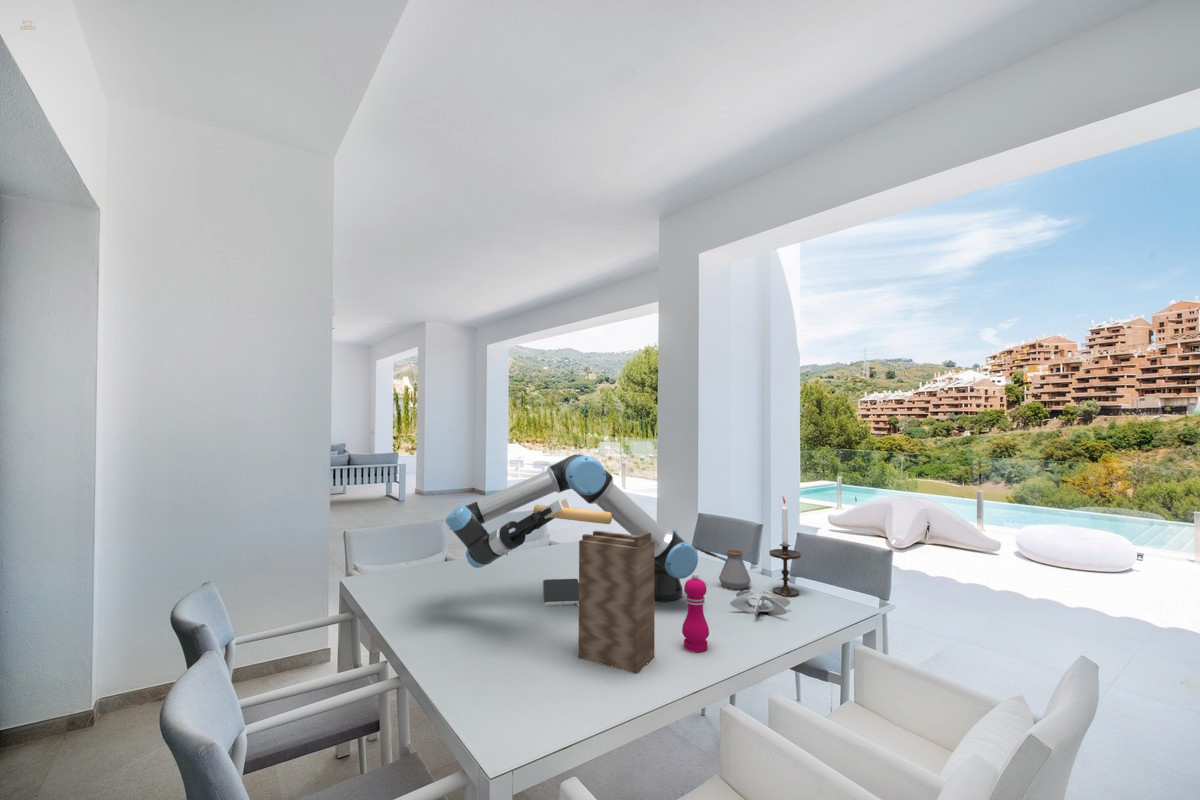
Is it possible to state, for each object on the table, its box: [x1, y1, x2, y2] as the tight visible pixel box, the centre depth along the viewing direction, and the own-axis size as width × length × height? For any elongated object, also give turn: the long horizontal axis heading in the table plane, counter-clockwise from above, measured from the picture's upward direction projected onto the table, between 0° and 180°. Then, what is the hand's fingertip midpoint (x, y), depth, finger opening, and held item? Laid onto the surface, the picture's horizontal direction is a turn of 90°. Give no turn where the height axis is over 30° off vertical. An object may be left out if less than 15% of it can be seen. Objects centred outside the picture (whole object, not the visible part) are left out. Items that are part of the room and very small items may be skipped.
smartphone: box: [542, 577, 579, 607], centre depth 190 cm, size 13×27×2 cm, turn 7°
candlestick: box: [769, 496, 802, 598], centre depth 191 cm, size 11×11×35 cm
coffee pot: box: [694, 547, 752, 591], centre depth 198 cm, size 21×12×15 cm, turn 98°
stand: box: [578, 530, 655, 674], centre depth 138 cm, size 17×10×32 cm, turn 59°
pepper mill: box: [681, 572, 710, 653], centre depth 144 cm, size 7×7×20 cm
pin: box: [532, 504, 613, 525], centre depth 146 cm, size 24×3×3 cm, turn 59°
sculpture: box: [729, 590, 792, 617], centre depth 171 cm, size 18×20×6 cm
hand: (564, 503), depth 147 cm, fingers closed on pin, 3 cm apart
